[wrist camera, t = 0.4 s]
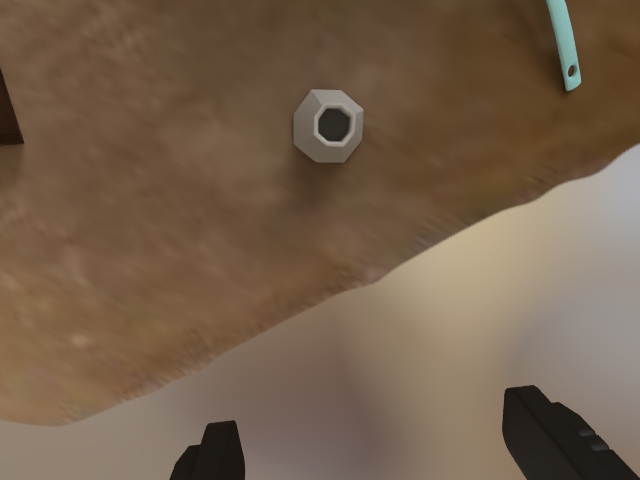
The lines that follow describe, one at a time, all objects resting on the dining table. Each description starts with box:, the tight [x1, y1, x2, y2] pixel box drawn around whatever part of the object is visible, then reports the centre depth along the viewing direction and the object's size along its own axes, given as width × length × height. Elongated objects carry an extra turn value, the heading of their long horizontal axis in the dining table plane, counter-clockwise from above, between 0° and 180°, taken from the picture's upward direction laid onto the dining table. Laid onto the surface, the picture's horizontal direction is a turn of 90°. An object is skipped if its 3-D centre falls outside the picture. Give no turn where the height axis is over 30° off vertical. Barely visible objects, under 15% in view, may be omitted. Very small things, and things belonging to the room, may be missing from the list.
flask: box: [293, 89, 364, 163], centre depth 31 cm, size 7×7×10 cm
